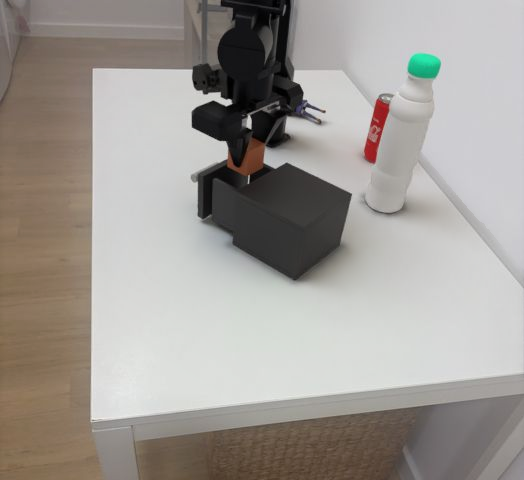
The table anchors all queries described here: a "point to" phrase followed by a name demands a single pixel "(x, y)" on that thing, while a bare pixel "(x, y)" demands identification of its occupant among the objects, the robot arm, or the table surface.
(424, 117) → the water bottle
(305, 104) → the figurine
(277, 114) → the robot arm
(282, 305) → the table surface
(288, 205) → the cabinet
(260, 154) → the block
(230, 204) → the drawer
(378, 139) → the beverage can
